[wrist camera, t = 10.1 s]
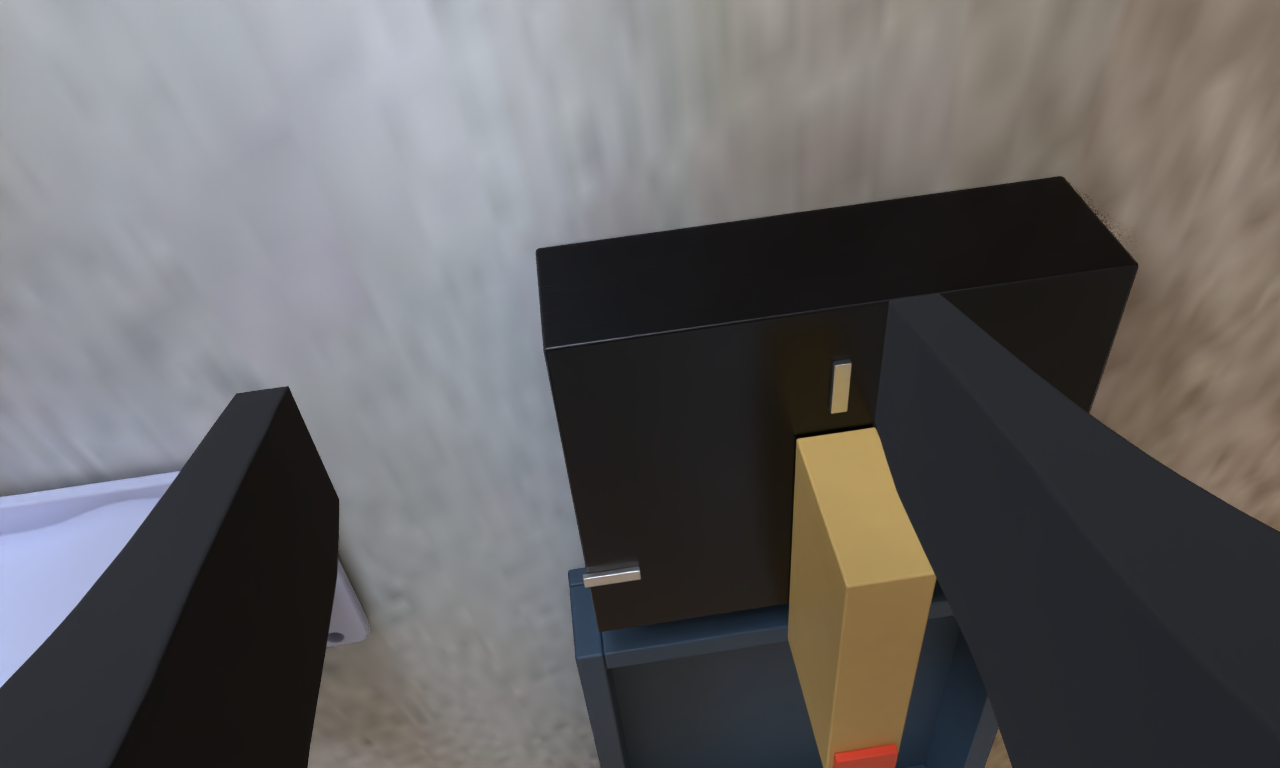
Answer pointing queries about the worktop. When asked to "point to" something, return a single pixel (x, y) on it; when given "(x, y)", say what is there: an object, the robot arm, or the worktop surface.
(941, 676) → the tray
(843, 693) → the yellow-brown long block
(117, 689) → the robot arm
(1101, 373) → the black cupboard
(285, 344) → the worktop surface
